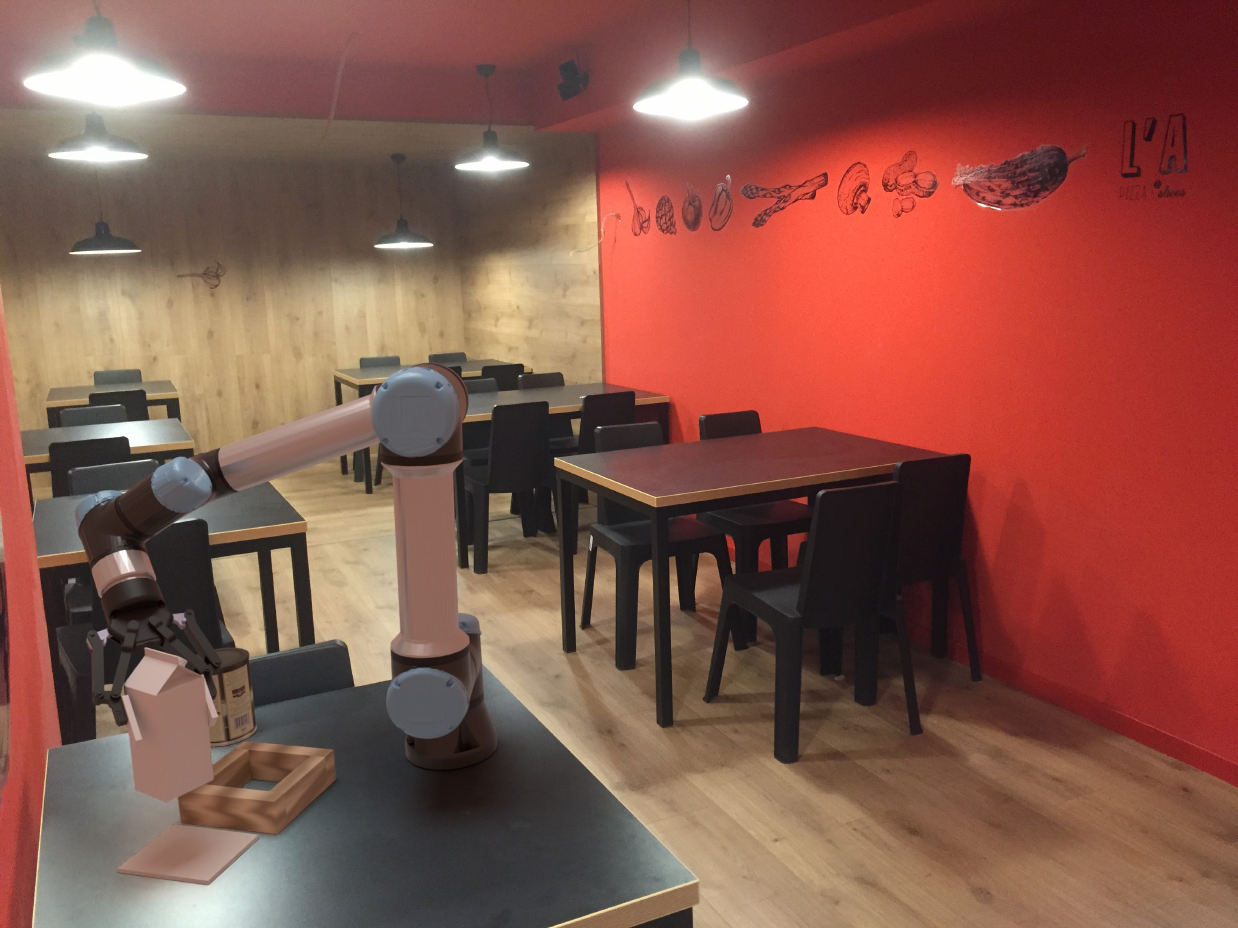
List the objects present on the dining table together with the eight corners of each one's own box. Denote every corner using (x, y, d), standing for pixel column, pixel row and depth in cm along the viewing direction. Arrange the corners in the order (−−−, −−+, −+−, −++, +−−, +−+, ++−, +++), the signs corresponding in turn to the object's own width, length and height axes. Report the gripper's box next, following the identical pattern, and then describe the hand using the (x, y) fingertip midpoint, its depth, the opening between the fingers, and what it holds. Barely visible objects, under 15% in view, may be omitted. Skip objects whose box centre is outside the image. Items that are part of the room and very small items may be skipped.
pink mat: (258, 838, 136) (258, 834, 136) (208, 884, 126) (207, 880, 126) (173, 827, 140) (173, 824, 140) (117, 872, 129) (117, 868, 129)
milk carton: (167, 803, 126) (152, 665, 123) (134, 790, 130) (119, 656, 127) (214, 780, 132) (201, 648, 129) (182, 768, 136) (168, 639, 133)
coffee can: (212, 720, 176) (204, 646, 173) (267, 721, 174) (259, 647, 172) (182, 746, 165) (172, 669, 163) (239, 747, 164) (231, 669, 162)
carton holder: (336, 778, 153) (333, 749, 152) (277, 834, 137) (274, 801, 136) (247, 769, 157) (244, 740, 156) (180, 822, 141) (177, 790, 140)
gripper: (203, 587, 146) (252, 720, 136) (40, 621, 132) (83, 772, 123) (211, 560, 141) (263, 696, 132) (43, 593, 127) (88, 747, 118)
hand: (176, 732), depth 127 cm, fingers closed on milk carton, 9 cm apart
